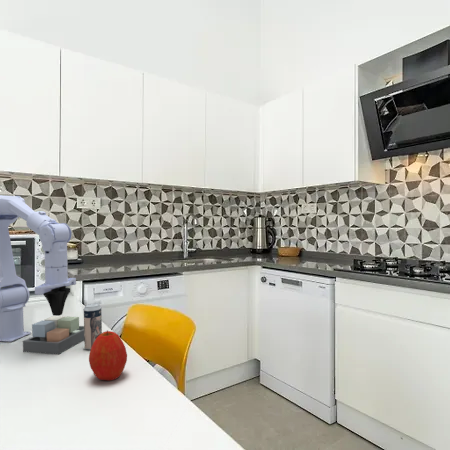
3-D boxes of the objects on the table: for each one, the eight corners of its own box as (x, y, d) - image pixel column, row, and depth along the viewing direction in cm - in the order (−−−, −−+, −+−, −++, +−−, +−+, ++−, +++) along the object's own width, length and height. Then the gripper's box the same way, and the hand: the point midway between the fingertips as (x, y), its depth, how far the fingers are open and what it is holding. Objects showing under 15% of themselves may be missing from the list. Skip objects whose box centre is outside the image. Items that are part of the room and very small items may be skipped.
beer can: (96, 351, 95) (95, 307, 95) (80, 350, 96) (79, 307, 96) (105, 345, 100) (104, 303, 99) (90, 344, 101) (89, 302, 100)
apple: (88, 373, 81) (87, 327, 81) (125, 366, 85) (124, 322, 84) (90, 388, 74) (88, 338, 74) (129, 380, 77) (128, 332, 77)
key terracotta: (46, 344, 96) (46, 332, 96) (56, 339, 100) (56, 328, 100) (59, 345, 95) (59, 333, 95) (69, 340, 99) (68, 328, 99)
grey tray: (23, 352, 95) (22, 340, 95) (59, 334, 110) (59, 323, 110) (58, 354, 93) (58, 342, 93) (91, 336, 108) (90, 325, 108)
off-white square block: (44, 331, 102) (44, 319, 102) (53, 327, 106) (53, 315, 106) (56, 331, 101) (56, 320, 101) (65, 327, 105) (65, 316, 105)
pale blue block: (32, 336, 97) (32, 324, 97) (42, 332, 101) (42, 320, 101) (44, 337, 96) (44, 325, 96) (54, 332, 100) (54, 321, 100)
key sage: (58, 331, 101) (58, 320, 101) (67, 327, 105) (67, 316, 105) (70, 332, 100) (70, 320, 100) (79, 328, 104) (78, 317, 104)
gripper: (50, 270, 90) (52, 323, 90) (84, 263, 104) (85, 308, 104) (27, 270, 91) (28, 321, 91) (63, 263, 105) (64, 308, 105)
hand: (57, 314), depth 98 cm, fingers closed
